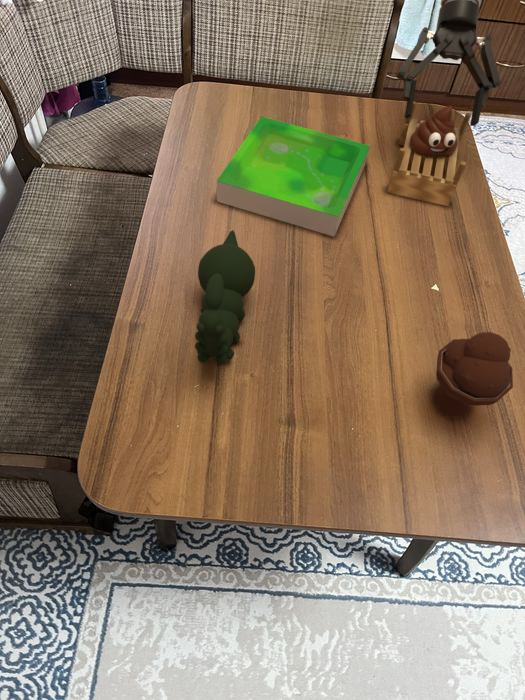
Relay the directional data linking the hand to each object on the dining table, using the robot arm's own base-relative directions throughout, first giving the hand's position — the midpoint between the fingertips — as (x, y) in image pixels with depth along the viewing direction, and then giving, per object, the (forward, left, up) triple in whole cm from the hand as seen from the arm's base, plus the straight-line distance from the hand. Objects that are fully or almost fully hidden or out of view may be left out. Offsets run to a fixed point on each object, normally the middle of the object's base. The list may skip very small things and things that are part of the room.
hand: (440, 120), depth 108 cm
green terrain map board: (+26, +14, -12) cm, 32 cm away
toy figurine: (+28, +55, -12) cm, 63 cm away
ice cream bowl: (-11, +58, -12) cm, 60 cm away
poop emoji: (0, 0, -6) cm, 7 cm away
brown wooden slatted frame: (0, 0, -12) cm, 12 cm away
